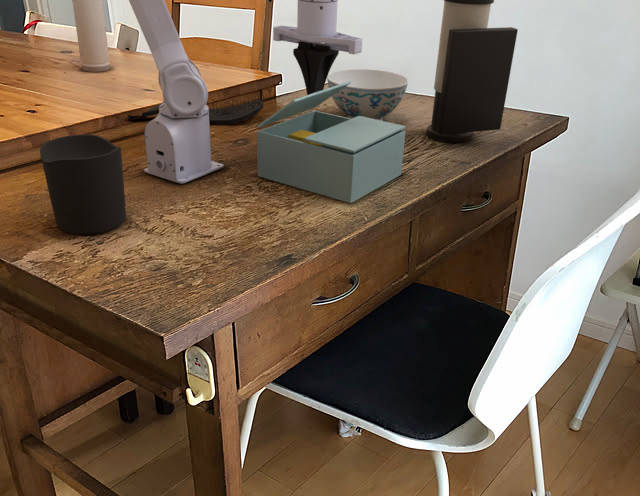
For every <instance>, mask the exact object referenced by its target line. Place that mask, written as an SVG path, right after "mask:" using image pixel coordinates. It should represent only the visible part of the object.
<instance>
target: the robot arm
mask: <svg viewBox="0 0 640 496" xmlns="http://www.w3.org/2000/svg"><path fill="white" fill-rule="evenodd" d="M338 1H339V0H297V11H296V13H297V15H296V16H297V18H296V20H297V21H296V22H297V23H296V24H297V25H296V26H289V25H276V26H273V27H272V33H273V34H272V35H273V36H272V40H273V41H274V42H287V43H294V44H297V47H295V48H293V50H292V54H293V56H294V58H295V60H296V62H297V64H298V66H299V68H300V72H301V74H302V77H303V81H304V85H305V90H306V95H309V94H312V93H315V92H318V91H321V90H324V89H325V85H326V82H327V76H328V75H329V74H330V71H331V68H332V66H333V64H334V62H335V60H336V59H337V57H338V56H339V54H340V52H345V53H348V54H349V55H357V54H361V53H362V51H363V50H362V49H363V38H361V37H357V36H352V35H350V34H349V35H348V34H346V33H342V32H338V31H337V23H338ZM128 2H129V4H130V6H131V9H132V11H133V13H134V15H135V18H136V20H137V23H138V26H139V27H140V30H141V32H142V34H143V36H144V39H145V42H146V43H147V46H148V48H149V50H150V53H151V55H152V58H153V60H154V63H155V65H156V68H157V71H158V80H157V81H158V85H159V87H160V89H161V92H162V93H161V94H162V102H161V104H159V105H160V106H159V105H158V106H159V114H157V116H156V117H154V119H152V120H150V121H149V122H147V124H146V125H145V128H144V144H145V152H146V163H147V167H146V168H144V169H143V170H144V171H143V172H144V173H146V174H148V175H153V176H155V177H159V178H161V179H165V180H167V181H170V182H174V183H176V184H180V185H183V184H186V183H189V182H191V181H194V180H195V179H198V178H201V177H203V176H207V175H209V174H211V173H214V172H216V171H218V170H221V169H223V168H224V164H223V163H220V162H216V161H214V160H212V148H211V128H210V127H211V125H210V123H209V108H210V106H208V105H206V104H208V103H207V102H208V99H209V89H208V86H207V84H206V82H205V80H204V79H203V77H202V75H201V72H200V69H199V67H198V66H197V65H196V64H195V63H194V61H192V60H191V59H190V58H189V57H188V54H187V52H186V49H185V48H184V45H183V42H182V41H181V38H180V36H179V33H178V30H177V28H176V26H175V23H174V20H173V18H172V16H171V13H170V11H169V8H168V6H167V3H166V1H165V0H128Z"/></svg>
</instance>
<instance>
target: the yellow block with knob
mask: <svg viewBox="0 0 640 496" xmlns="http://www.w3.org/2000/svg"><path fill="white" fill-rule="evenodd" d="M313 134H315V133H313V132H309V131H305V130H299V131H297V132H294V133H292V134H289V139H293V140H297V141H301V142H305V143H309V144H313V145H316V146H320V147H322V145H321V144H317V143H313V142H309V141H305V140H304V138H306V137H308V136H311V135H313Z"/></svg>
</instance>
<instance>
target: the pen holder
mask: <svg viewBox="0 0 640 496" xmlns="http://www.w3.org/2000/svg"><path fill="white" fill-rule="evenodd" d="M39 155H40V160H41V164H42V168H43V172H44V176H45V177H44V178H45V182H46V186H47V190H48V195H49V199H50V203H51V204H50V205H51V209H52V212H53V216H54V220H55V223H56V226H57V227H58V228H59V229H60V230H61V231H63V232H65V233H68V234H71V235H76V236H94V235H101V234H107V233H109V232H112V231H114V230H116V229H118V228H120V227H121V226H122V225H123V224H124V223H125V221H126V218H127V210H126V209H127V208H126V193H125V182H124V181H125V180H124V169H123V155H122V146H117V145H115V144H114V143H113V142H111V141H109V140H108V139H106V138H104V137H103V136H100V135H96V134H72V135H64V136H60V137H55V138H53V139H50V140H48V141H45V142H44V143H42V144H41V146H40V149H39Z"/></svg>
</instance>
